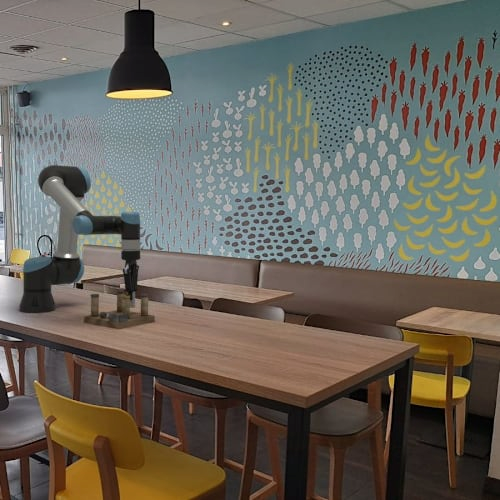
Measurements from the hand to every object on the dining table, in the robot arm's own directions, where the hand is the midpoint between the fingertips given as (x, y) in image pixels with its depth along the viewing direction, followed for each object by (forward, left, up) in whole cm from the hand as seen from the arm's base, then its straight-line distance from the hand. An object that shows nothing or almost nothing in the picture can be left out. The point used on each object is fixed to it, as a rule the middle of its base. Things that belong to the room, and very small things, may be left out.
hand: (131, 307), depth 236 cm
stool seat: (-4, -2, -6) cm, 8 cm away
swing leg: (-2, -7, -3) cm, 8 cm away
